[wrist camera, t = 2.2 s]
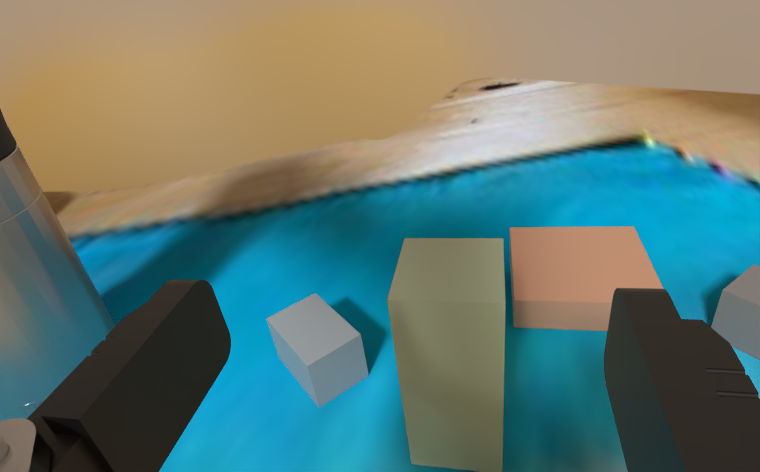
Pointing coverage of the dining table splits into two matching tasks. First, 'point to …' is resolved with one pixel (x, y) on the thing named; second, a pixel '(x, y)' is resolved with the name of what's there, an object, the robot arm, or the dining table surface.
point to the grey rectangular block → (741, 313)
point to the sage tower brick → (451, 350)
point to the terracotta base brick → (574, 274)
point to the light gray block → (318, 348)
